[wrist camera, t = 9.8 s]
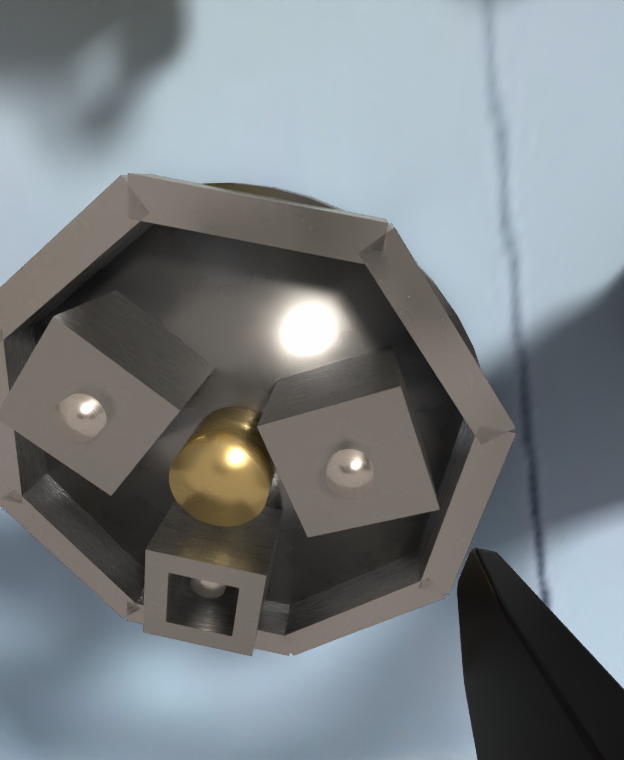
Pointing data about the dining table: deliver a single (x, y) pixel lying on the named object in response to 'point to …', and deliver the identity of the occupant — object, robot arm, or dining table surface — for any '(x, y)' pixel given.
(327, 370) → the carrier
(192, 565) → the square pipe segment
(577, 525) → the dining table surface
